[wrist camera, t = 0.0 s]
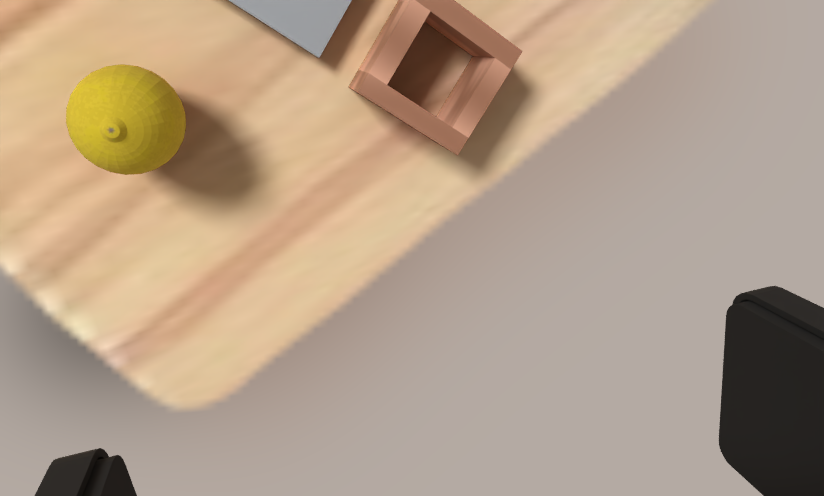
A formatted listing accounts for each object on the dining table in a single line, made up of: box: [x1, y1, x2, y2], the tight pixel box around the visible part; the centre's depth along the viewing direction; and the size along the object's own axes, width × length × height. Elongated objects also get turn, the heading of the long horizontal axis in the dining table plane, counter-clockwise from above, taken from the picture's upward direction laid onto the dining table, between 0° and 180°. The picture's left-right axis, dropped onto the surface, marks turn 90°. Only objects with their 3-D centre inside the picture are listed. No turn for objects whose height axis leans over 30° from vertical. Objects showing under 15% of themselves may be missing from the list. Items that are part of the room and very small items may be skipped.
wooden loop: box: [349, 0, 522, 155], centre depth 36 cm, size 7×7×4 cm
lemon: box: [66, 65, 186, 175], centre depth 32 cm, size 6×6×8 cm
